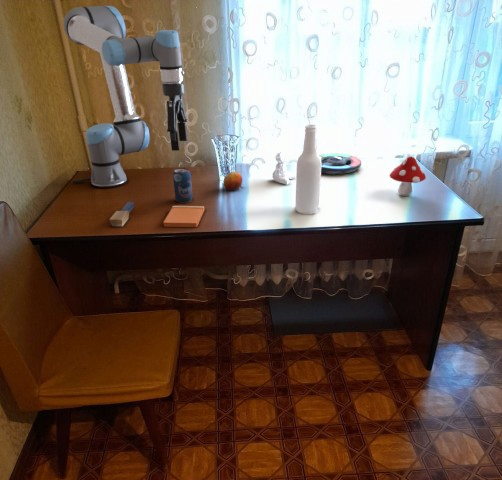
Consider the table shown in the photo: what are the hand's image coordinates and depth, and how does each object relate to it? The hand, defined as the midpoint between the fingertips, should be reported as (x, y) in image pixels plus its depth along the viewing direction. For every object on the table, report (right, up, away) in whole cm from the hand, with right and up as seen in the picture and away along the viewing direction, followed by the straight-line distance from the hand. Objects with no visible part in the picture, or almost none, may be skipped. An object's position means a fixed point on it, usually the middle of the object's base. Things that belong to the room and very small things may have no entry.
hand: (179, 145), depth 180 cm
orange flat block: (+2, -28, -3) cm, 28 cm away
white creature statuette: (+40, -4, +29) cm, 50 cm away
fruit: (+19, -10, +22) cm, 31 cm away
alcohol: (+48, -24, +1) cm, 54 cm away
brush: (-20, -27, -1) cm, 34 cm away
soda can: (0, -17, +12) cm, 21 cm away
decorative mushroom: (+89, -15, +12) cm, 91 cm away
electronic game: (+66, +6, +42) cm, 78 cm away
